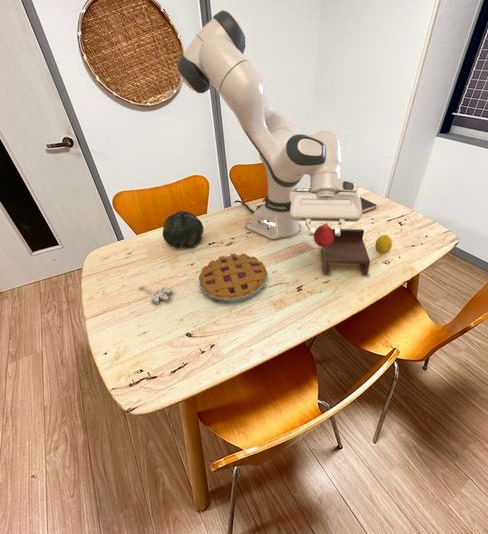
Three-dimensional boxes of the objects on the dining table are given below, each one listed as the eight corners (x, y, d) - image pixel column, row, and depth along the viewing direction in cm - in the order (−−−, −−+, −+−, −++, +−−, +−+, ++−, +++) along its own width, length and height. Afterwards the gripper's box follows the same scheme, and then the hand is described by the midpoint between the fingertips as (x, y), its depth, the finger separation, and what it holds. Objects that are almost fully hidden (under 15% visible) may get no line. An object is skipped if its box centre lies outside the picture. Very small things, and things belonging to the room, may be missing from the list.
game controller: (165, 305, 83) (163, 299, 82) (131, 301, 85) (128, 295, 84) (174, 292, 88) (172, 286, 86) (141, 289, 89) (139, 282, 88)
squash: (165, 221, 113) (156, 206, 99) (202, 218, 116) (199, 203, 102) (168, 255, 111) (160, 244, 96) (206, 250, 114) (204, 239, 100)
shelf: (321, 249, 105) (323, 228, 99) (359, 250, 104) (363, 229, 99) (324, 274, 93) (327, 252, 88) (366, 275, 92) (372, 253, 87)
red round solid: (320, 255, 79) (322, 230, 74) (309, 245, 83) (310, 221, 78) (336, 249, 81) (340, 225, 76) (325, 240, 85) (327, 216, 80)
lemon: (389, 259, 99) (395, 240, 94) (373, 257, 100) (378, 238, 95) (388, 250, 104) (393, 231, 99) (372, 248, 105) (377, 230, 100)
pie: (194, 272, 95) (191, 261, 92) (254, 256, 102) (253, 245, 99) (209, 316, 80) (206, 303, 77) (278, 293, 86) (278, 281, 83)
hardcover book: (351, 217, 124) (351, 212, 123) (318, 199, 140) (318, 195, 138) (376, 208, 131) (376, 204, 129) (342, 192, 146) (342, 188, 145)
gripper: (289, 183, 78) (287, 232, 76) (363, 184, 76) (363, 233, 75) (289, 192, 84) (288, 237, 82) (358, 193, 82) (358, 238, 81)
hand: (324, 235), depth 78 cm, fingers closed on red round solid, 6 cm apart
